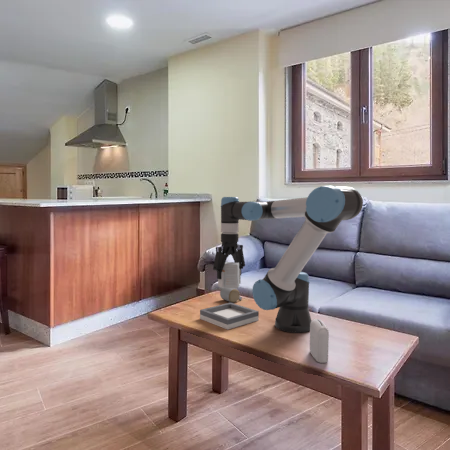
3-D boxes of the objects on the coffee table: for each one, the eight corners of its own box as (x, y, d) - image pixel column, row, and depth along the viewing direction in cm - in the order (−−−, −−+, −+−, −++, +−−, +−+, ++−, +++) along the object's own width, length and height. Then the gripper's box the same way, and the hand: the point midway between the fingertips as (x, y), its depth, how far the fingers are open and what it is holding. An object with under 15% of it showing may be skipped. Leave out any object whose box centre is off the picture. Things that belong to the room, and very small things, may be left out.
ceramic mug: (229, 304, 190) (229, 288, 190) (219, 300, 197) (219, 285, 196) (245, 301, 197) (246, 286, 196) (235, 297, 203) (236, 283, 203)
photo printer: (308, 350, 133) (308, 315, 132) (320, 350, 133) (321, 315, 132) (316, 363, 123) (317, 325, 122) (329, 363, 123) (330, 325, 122)
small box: (239, 286, 167) (239, 262, 167) (237, 289, 162) (237, 264, 161) (221, 285, 169) (221, 261, 168) (219, 288, 163) (219, 263, 163)
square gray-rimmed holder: (258, 320, 166) (258, 311, 165) (227, 329, 154) (227, 319, 153) (230, 310, 179) (230, 302, 179) (200, 318, 167) (200, 309, 167)
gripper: (241, 231, 174) (241, 279, 175) (204, 233, 159) (204, 287, 161) (253, 232, 168) (253, 282, 170) (215, 235, 154) (215, 290, 155)
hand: (229, 284), depth 165 cm, fingers closed on small box, 9 cm apart
